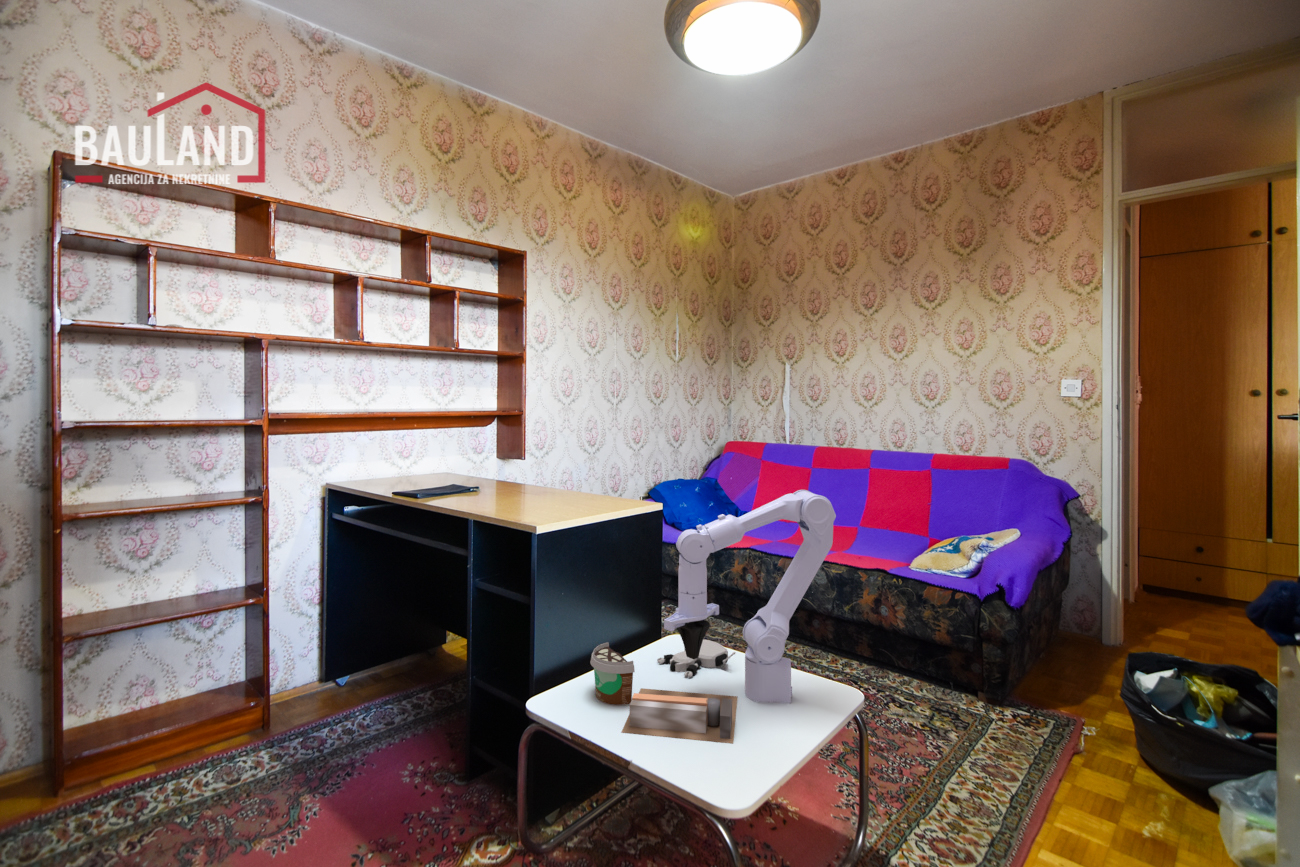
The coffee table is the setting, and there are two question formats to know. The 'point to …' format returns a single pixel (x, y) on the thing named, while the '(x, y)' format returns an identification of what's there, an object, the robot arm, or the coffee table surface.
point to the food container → (612, 676)
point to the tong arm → (711, 704)
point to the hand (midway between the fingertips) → (692, 657)
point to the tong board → (686, 735)
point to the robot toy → (708, 657)
